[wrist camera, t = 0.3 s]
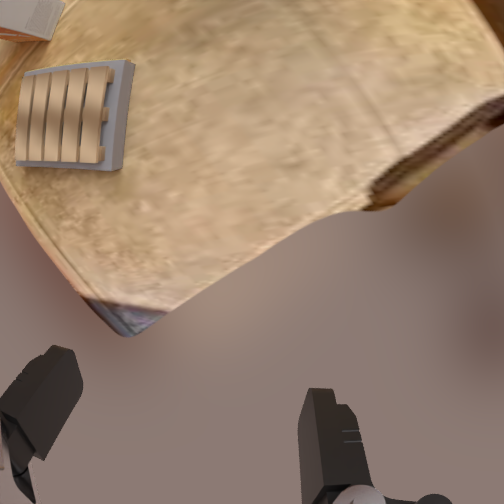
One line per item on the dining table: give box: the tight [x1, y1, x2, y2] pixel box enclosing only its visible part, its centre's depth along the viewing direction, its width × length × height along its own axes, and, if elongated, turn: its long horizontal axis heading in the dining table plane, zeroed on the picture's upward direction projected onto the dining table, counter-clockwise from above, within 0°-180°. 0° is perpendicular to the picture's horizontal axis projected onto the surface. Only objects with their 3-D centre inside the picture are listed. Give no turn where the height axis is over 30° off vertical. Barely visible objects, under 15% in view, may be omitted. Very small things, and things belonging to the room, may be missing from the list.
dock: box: [16, 59, 135, 171], centre depth 31 cm, size 13×16×3 cm
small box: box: [0, 0, 65, 42], centre depth 21 cm, size 8×6×13 cm
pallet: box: [15, 66, 115, 163], centre depth 29 cm, size 11×14×2 cm
